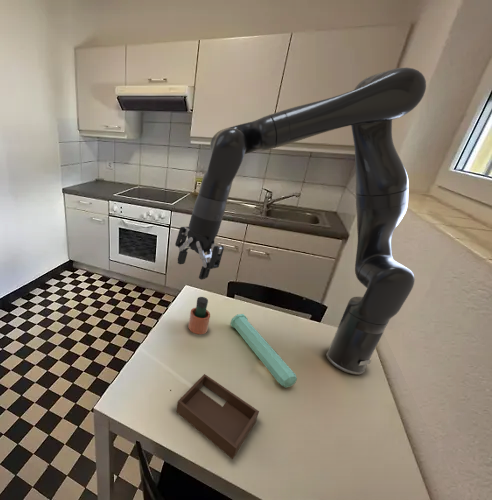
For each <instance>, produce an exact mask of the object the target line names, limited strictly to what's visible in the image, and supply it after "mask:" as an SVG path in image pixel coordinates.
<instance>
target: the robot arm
mask: <svg viewBox="0 0 492 500" xmlns="http://www.w3.org/2000/svg"><path fill="white" fill-rule="evenodd" d="M426 90H427V81H426V78H425V76H424V74H423V73H422V72H421V71H419V69H416V68H413V67H396V68H392V69H388V70H386V71H385V70H384V71H382V72H379V73H376V74H372V75H370V76H368V77H366V78H363V79H361V81H360V82H359V83H357V84H356V86H355V87H354V88H353V90H350V91H347V92H345V93H341V94H337V95H335V96H332V97H329V98H325V99H321V100H317V101H312V102H308V103H305V104H301V105H297V106H294V107H290V108H286V109H283V110H280V111H277V112H273V113H271V114H268V115H265V116H262V117H260V118H257V119H255V120H252V121H249V122H245V123H240V124H236V125H233V126H229V127H225V128H222V129H220V130H218V131H216V133H215V134H214V135H213V136H212V138H211V140H210V144H209V149H210V153H211V156H210V159H209V163H208V166H207V170H206V172H204V175H203V177H202V178H201V179H202V180H201V183H200V186H199V190H198V194H197V197H196V199H195V202H194V205H193V208H192V212H191V217H190V220H189V223H188V226H181V227H180V228H179V231H178V234H177V237H176V241H175V244H174V245H175V247H177V248H178V251H179V252H178V256H177V264H178V265H184V264H185V263H186V260H187V256H188V251H189V250H192V251H194V252H195V253H196V254H198V257H199V259H201V263H202V266H201V269H200V272H199V275H198V279H199V280H201V281H202V280H206V279H207V278H208V277H209V275H210V272H211V270H213V269H217V268H219V267H220V264H221V260H222V257H223V253H224V250H225V246H224V245H218V244H216V243H215V239H216V237H217V236H218V234H219V231H220V228H221V225H222V222H223V219H224V215H225V212H226V208H227V202H228V199H229V195H230V193H231V190H232V186H233V182H234V179H235V177H236V176H237V173H238V171H239V169H240V167H241V165H242V162H243V160H244V158H245V155H246V154H250V153H254V152H258V151H260V152H261V151H269V150H273V149H276V148H279V147H283V146H287V145H290V144H292V143H296V142H298V141H299V142H300V141H303V140H305V139H308V138H312V137H314V136H318V135H320V134H325V133H327V132H331V131H334V130H338V129H342V128H346V127H351V133H352V140H353V147H354V169H355V205H356V206H355V209H356V232H357V245H356V253H355V264H354V275H355V276H356V277H355V278H356V279H357V280H358V282H359V283H360V284H362V286H363V287H365V288H366V290H365V292H364V294H363V296H353V297H351V298H350V299H349V300H348V302H347V305H346V307H345V309H344V312H343V314H342V317H341V319H340V321H339V324H338V326H337V329H336V331H335V333H334V336H333V338H332V340H331V343H330V346H329V347H328V350H327V351H326V355H325V356H326V359H327V360H328V361H329V363H330V364H331V365H332V366H333V367H335V368H336V369H338V370H340V371H342V372H343V373H347V374H350V375H354V376H355V375H363V374H364V373H365V371H366V369H367V365H370V363H371V361H372V359H371V358H372V356H373V354H374V352H375V351H376V349H377V346H378V344H379V342H380V340H381V338H382V336H383V334H384V332H385V330H386V328H387V326H388V324H389V323H390V320H391V319H392V318H393V317H395V316H396V315H397V314H398V313H399V312H400V310H401V309H402V307H403V305H404V303H405V302H406V300H407V299H408V297H409V296H410V294H411V292H412V290H413V288H414V285H415V280H416V279H415V278H416V277H415V274H414V272H413V271H412V270H411V269H410V268H408V267H406V266H405V265H404V264H402V263H400V262H398V261H397V260H395V259H394V256H393V251H392V250H393V249H392V239H393V234H394V231H395V230H396V228H397V226H398V225H399V224H400V223H401V221H402V220H403V218H404V216H405V215H406V213H407V210H408V205H409V187H410V186H409V184H410V183H409V176H408V173H407V170H406V168H405V165H404V164H403V161H402V159H401V157H400V156H399V154H398V152H397V149H396V147H395V144H394V139H393V120H396V119H399V118H402V117H403V116H405V115H407V114H409V113H411V112H412V111H413V110H414V109H415V108H416V107H418V105H419V104H420V102H421V101H422V100H423V98H424V96H425V93H426Z"/></svg>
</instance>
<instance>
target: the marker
mask: <svg viewBox="0 0 492 500" xmlns="http://www.w3.org/2000/svg"><path fill="white" fill-rule="evenodd" d="M208 303H209V299H208V298H207V297H204V296H198V297H197V299H196V306H195V308H196V312H195V316H196V317H199V318H205V314H206V310H207V309H208V308H207V307H208Z"/></svg>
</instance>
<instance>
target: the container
mask: <svg viewBox="0 0 492 500" xmlns="http://www.w3.org/2000/svg"><path fill="white" fill-rule="evenodd" d="M230 320H231V321H230V326H231V328H233V329H235V330H236V331H237V333H238V334H239V335H240V337H242V339H243V340H244V342H245V343H246V344H247V345H248V346H249V348H250V349H251V351H252V352H254V354H255V355H256V356H257V358H258V359H259V360H260V362H261V363H262V364H263V365H264V366H265V368H266V369H267V370H268V371H269V373H270V374H271V375H272V377H273V378H274V379H275V380H276V382H277V383H278V384H279V385H280V386H281V387H284V388H290V387H292V386H294V385H295V384H296V382H297V380H298V377H297V374H296V373H295V372H294V371H293V370H292V369H291V367H290V366H289V365H288V364H287V363H286V362H285V361H284V360H283V359H282V357H281V356H280V355H279V354H278V353H277V351H275V349H273V347H272V346H271V345H270V344H269V343H268V342H267V341H266V340H265V338H264V337H263V336H262V335H261V334H260V333H259V332H258V330H256V328H255V327H254V325H252V324H251V322H249V319H248V317H247V316H246V315H245V314H244V313H239V314H236V315H235V316H233V317H232V318H231V319H230Z"/></svg>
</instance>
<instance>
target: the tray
mask: <svg viewBox="0 0 492 500" xmlns="http://www.w3.org/2000/svg"><path fill="white" fill-rule="evenodd" d="M203 386H204V387H206V388H207V389H209V390H210V391H211V392H212V393H214V394H216V395H217V396H218V397H220V398H221V399H223V401H225V403H223V405H221V404H220V403H218V402H217V401H216V400H214V399H212V398H211V396H208V395H207V394H206V393H205V392H203V391H202V390H201V388H202V387H203ZM175 412H176V413H177V414H178V415H180V417H182V418H183V419H184V420H185V421H187V422H188V423H189V424H190V425H191V426H193V427H194V428H195V429H196V430H197V431H199V432H200V433H201V434H202V435H203V436H205V438H206V439H208V440H209V441H210V442H212V443H213V444H214V445H215V446H216V447H217V448H219V449H220V450H221V452H223V453H225V454H226V455H227V456H228V457H229V458H230V459H232V460H234V459H235V457H236V455H237V453H238V452H239V450H240V449H241V447H242V445H243V444H244V442H245V440H246V439H247V437H248V435H249V434H250V432H251V431H252V429H253V427H254V425H256V423H257V419H258V417H259V414H260V410H258V409H257V408H255V407H254V406H252V405H251V404H249V403H248V402H246V401H245V400H244V399H242V398H241V397H239V396H238V395H236V394H235V393H233V392H232V391H230V390H229V389H227V388H226V387H225V386H223V385H221V384H220V383H218V382H217V381H216V380H214V379H212V378H211V377H210V376H209V375H207V374H206V373H203V374H202V375H201V377H199V378H198V380H197V381H196V382H195V383H194V384H193V385H192V386H191V387H190V388H189V389H187V391H186V392H185V393H184V394H183V395H182V396H181V397H180V398H179V399H178V400H177V404H176V410H175Z"/></svg>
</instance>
